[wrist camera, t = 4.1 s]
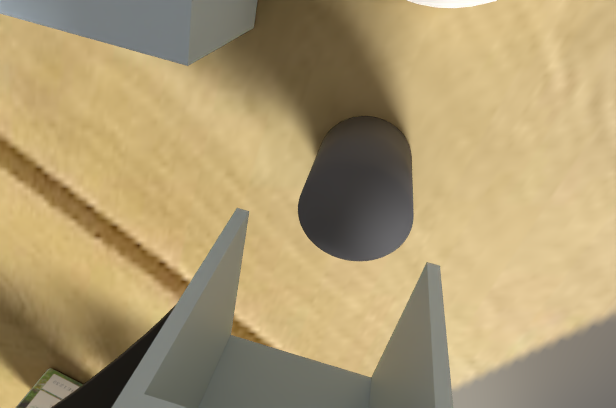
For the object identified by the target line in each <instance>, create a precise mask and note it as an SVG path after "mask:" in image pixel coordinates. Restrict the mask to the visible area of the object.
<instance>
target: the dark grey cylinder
mask: <svg viewBox="0 0 616 408" xmlns="http://www.w3.org/2000/svg"><path fill="white" fill-rule="evenodd" d="M298 215H299V220H300V224H301V226H302V228H303V230H304V232H305V234H306V235H307V237H308V238H309V239H310V240H311V241H312V242H313V243H314V244H315V245H316V246H317V247H318V248H320V249H321V250H323V251H324V252H326V253H328V254H330V255H332V256H334V257H337V258H340V259H344V260H350V261H369V260H375V259H378V258H381V257H384V256H386V255H388V254H390V253H392V252H393V251H395V250H396V249H397V248H399V247H400V246H401V245H402V244H403V242H404V241H405V240H406V238H407V237H408V235H409V233H410V231H411V228H412V224H413V184H412V156H411V150H410V146H409V144H408V142H407V140H406V138H405V136H404V135H403V134H402V133H401V131H400V130H399V129H397V128H396V127H395V126H394V125H392V124H391V123H389V122H387V121H385V120H383V119H380V118H376V117H370V116H358V117H353V118H349V119H346V120H344V121H342V122H340V123H339V124H337V125H336V126H334V127H333V128H332V129H331V130H330V131H329V132H328V133H327V135H326V136H325V138H324V140H323V142H322V144H321V146H320V149H319V151H318V154H317V156H316V159H315V161H314V163H313V166H312V168H311V171H310V173H309V176H308V178H307V180H306V183H305V185H304V188H303V190H302V193H301V195H300V199H299V203H298Z"/></svg>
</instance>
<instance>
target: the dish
mask: <svg viewBox="0 0 616 408" xmlns="http://www.w3.org/2000/svg"><path fill="white" fill-rule="evenodd" d="M407 1H410V2H413V3H416V4H420V5H426V6H431V7H440V8H460V7H471V6H476V5H481V4H485V3H489V2H493V1H496V0H407Z"/></svg>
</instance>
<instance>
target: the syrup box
mask: <svg viewBox="0 0 616 408" xmlns="http://www.w3.org/2000/svg"><path fill="white" fill-rule="evenodd" d="M82 385H83V384H81V383H79V382H77V381H75V380H73V379H71V378H69V377H67V376H66V375H64V374H62V373H60V372H58V371H56V370H54V369H52V368H49V369H48V370H47V371H46V372H45V373H44V374H43V376H42V377H41V378H40V379H39V380H38V382H37V383H36V384H35V385H34V386H33V387H32V389H31V390H30V391H29V392H28V393H27V395H26V396H25V397H24V398H23V399H22V400H21V402H20V403H19V404H18V405H17V406H16V408H51V407H52V406H54V405H55V404H57V403H58V402H60V401H61V400H62V399H64V398H65V397H67V396H68V395H69V394H71V393H72V392H74V391H75V390H76V389H78V388H79V387H81V386H82Z"/></svg>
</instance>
